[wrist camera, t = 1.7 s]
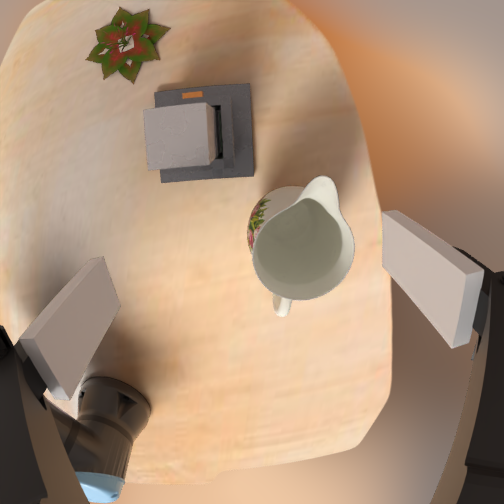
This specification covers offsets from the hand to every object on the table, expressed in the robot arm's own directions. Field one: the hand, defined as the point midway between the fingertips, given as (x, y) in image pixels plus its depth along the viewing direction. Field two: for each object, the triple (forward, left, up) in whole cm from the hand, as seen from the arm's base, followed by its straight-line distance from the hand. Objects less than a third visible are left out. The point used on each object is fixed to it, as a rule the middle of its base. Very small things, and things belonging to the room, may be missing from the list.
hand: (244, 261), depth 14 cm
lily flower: (-14, +20, -30) cm, 38 cm away
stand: (-4, +6, -29) cm, 30 cm away
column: (-4, +6, -28) cm, 29 cm away
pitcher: (+6, -7, -29) cm, 31 cm away
